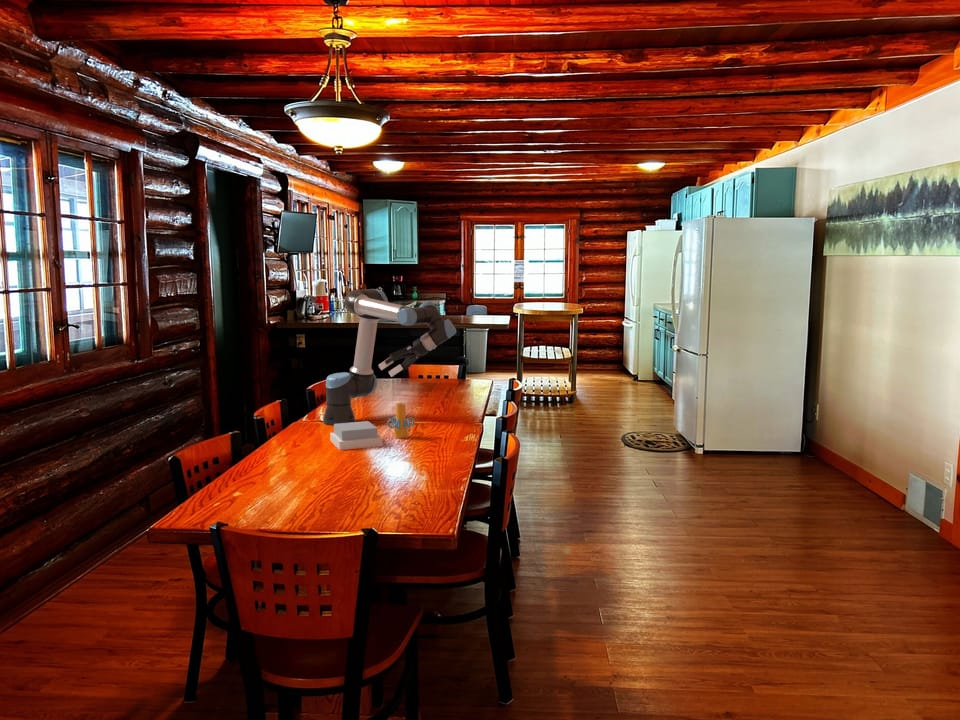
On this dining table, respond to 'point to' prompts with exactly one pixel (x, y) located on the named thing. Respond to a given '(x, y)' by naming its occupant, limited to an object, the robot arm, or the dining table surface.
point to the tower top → (355, 430)
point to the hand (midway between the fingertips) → (384, 371)
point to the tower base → (355, 442)
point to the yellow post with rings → (400, 422)
